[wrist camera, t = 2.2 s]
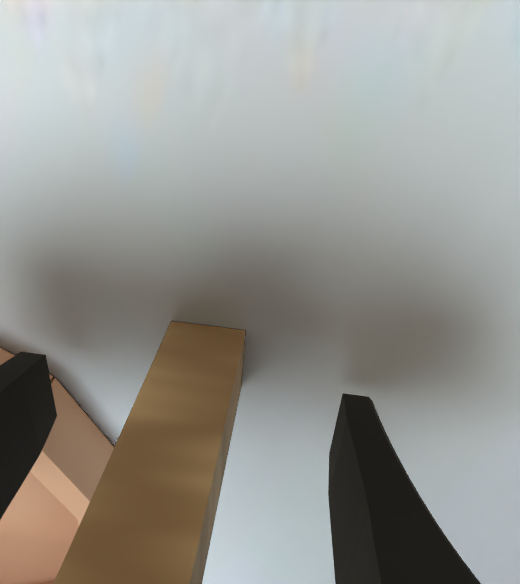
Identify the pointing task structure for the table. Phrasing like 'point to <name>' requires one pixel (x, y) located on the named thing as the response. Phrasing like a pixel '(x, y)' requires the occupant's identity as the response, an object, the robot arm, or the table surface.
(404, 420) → the table surface
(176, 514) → the brown long rectangular block
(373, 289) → the table surface
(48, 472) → the jar dish
